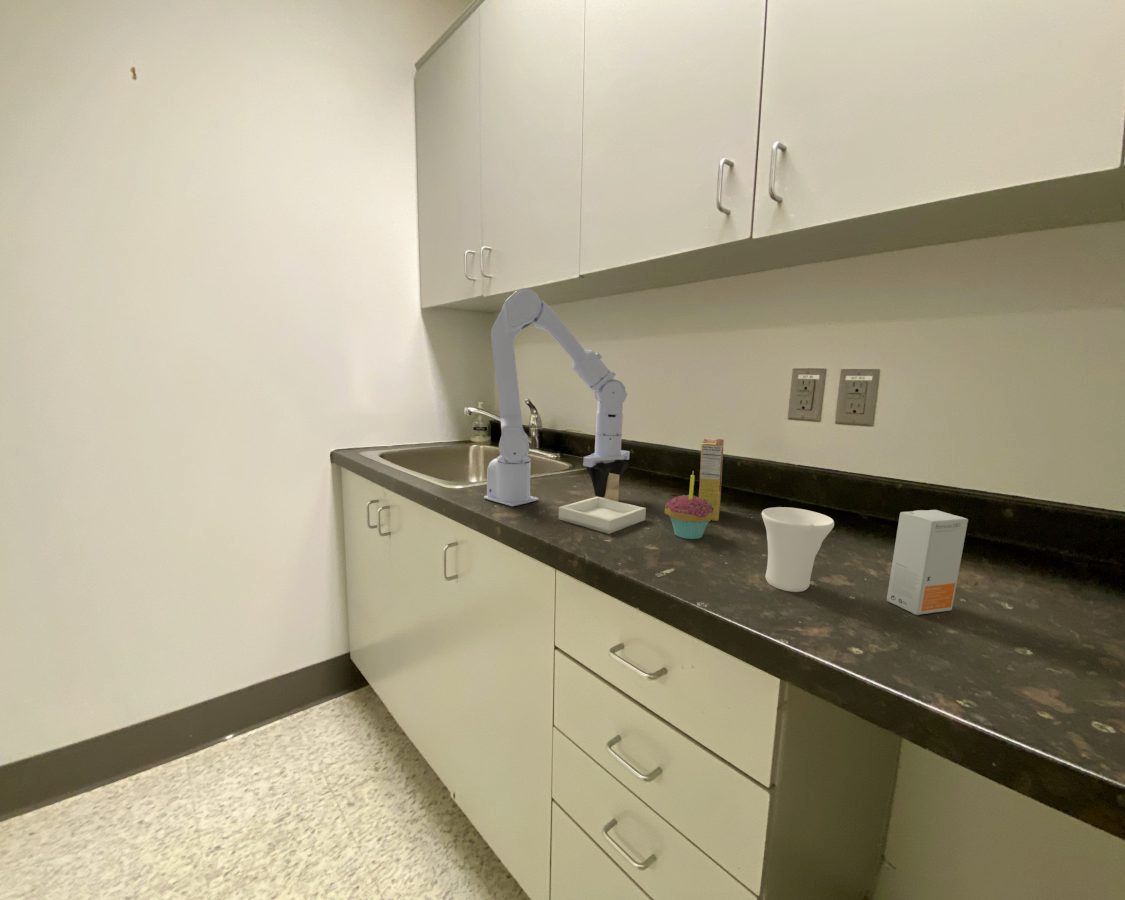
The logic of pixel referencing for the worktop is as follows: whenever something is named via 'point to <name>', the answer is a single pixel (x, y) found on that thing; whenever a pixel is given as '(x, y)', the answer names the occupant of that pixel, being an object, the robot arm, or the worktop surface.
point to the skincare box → (926, 561)
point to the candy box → (711, 473)
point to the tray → (602, 514)
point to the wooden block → (611, 487)
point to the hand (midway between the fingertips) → (605, 494)
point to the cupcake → (689, 514)
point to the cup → (793, 545)
